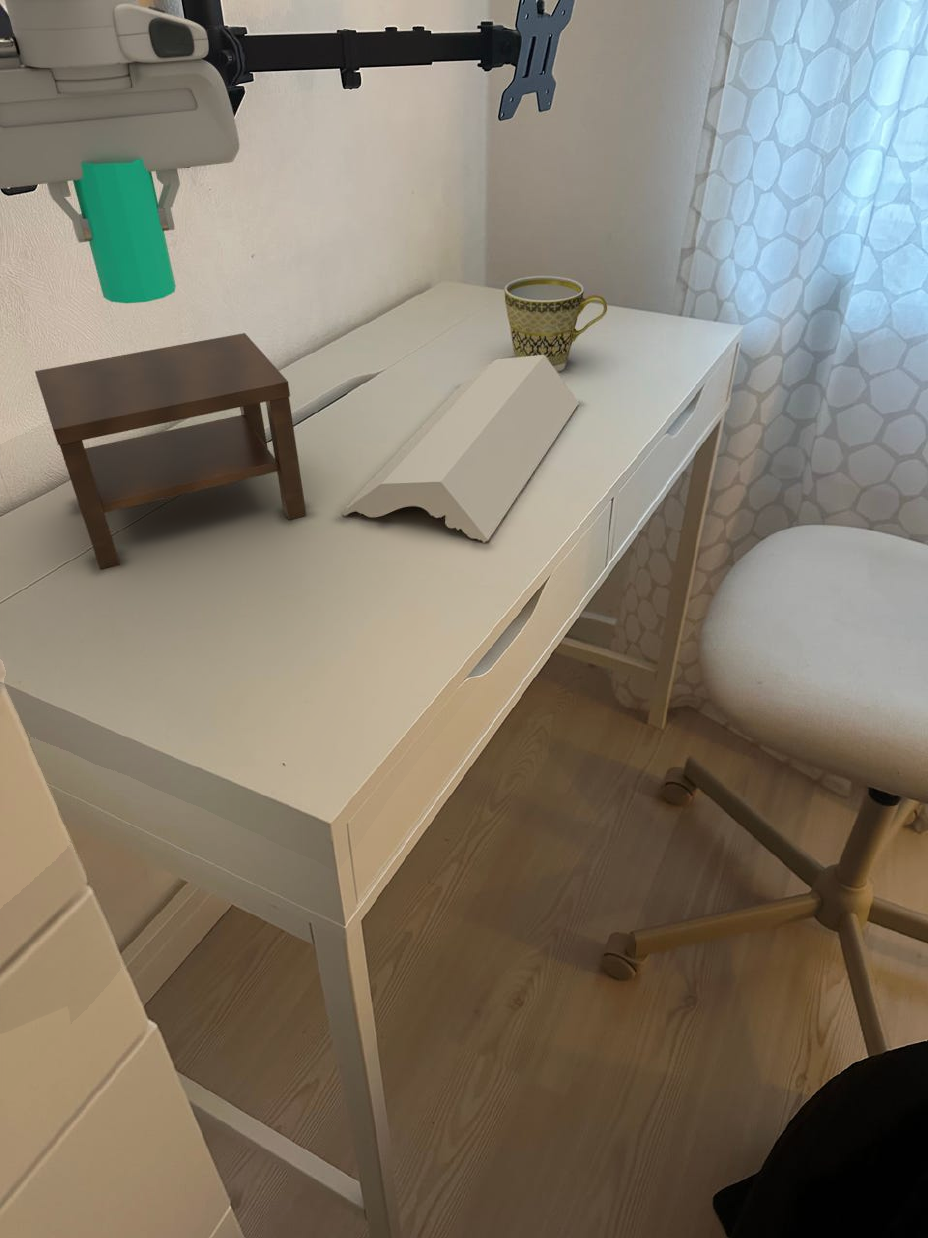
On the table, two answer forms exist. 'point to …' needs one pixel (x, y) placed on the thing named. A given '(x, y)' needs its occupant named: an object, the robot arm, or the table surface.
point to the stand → (175, 458)
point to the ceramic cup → (546, 316)
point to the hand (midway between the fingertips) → (127, 234)
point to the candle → (125, 231)
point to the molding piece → (476, 448)
